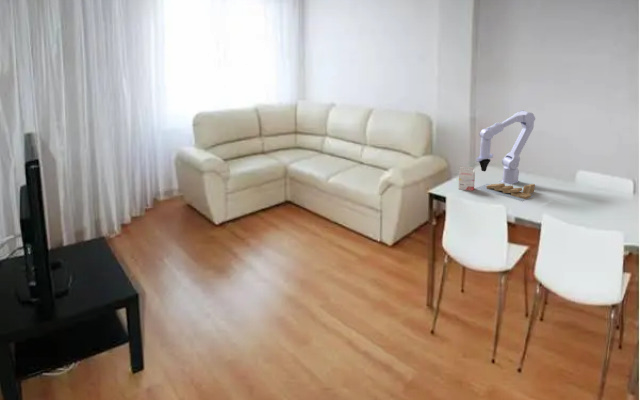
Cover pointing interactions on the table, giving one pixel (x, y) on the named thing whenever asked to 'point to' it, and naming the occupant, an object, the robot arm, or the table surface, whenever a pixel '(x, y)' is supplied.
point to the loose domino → (529, 188)
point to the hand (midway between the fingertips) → (483, 170)
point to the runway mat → (500, 192)
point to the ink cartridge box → (466, 178)
